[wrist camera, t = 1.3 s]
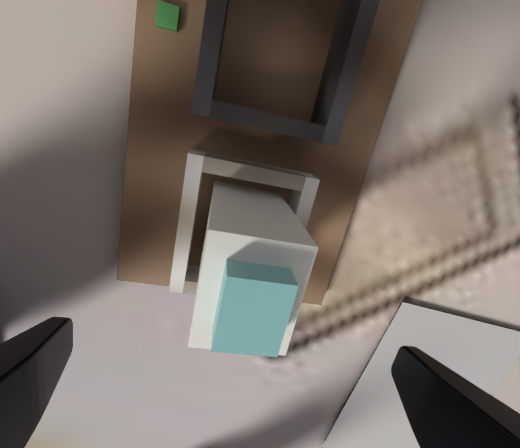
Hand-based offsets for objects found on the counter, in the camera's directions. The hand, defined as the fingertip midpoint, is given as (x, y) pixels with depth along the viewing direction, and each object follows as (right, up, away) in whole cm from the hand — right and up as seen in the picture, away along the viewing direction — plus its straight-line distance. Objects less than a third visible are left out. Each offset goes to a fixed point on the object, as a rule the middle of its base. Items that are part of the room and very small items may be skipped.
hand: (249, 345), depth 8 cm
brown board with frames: (0, +8, +10) cm, 13 cm away
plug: (-1, +3, +11) cm, 11 cm away
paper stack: (+18, -17, +22) cm, 33 cm away
